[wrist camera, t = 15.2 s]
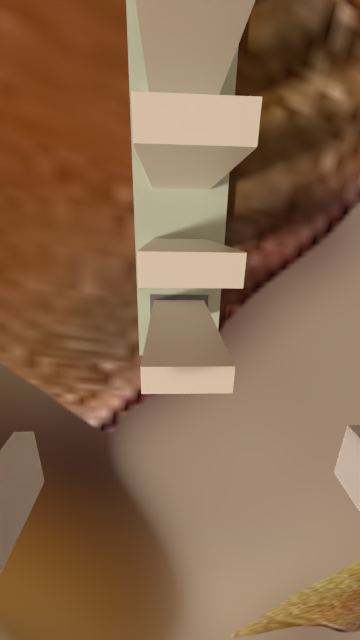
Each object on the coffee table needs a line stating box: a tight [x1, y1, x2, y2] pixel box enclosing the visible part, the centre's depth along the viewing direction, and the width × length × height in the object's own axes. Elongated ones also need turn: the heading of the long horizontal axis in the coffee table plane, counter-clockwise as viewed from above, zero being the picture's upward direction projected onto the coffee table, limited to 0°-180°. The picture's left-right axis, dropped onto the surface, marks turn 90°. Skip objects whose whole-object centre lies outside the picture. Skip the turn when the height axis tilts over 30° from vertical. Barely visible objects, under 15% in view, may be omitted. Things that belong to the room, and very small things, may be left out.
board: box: [126, 0, 239, 355], centre depth 28 cm, size 10×39×1 cm, turn 179°
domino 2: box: [131, 91, 262, 190], centre depth 20 cm, size 2×6×16 cm, turn 89°
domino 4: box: [140, 300, 235, 394], centre depth 25 cm, size 2×6×16 cm, turn 89°
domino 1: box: [135, 0, 255, 95], centre depth 18 cm, size 2×6×16 cm, turn 89°
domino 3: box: [137, 238, 247, 289], centre depth 22 cm, size 2×6×16 cm, turn 89°
